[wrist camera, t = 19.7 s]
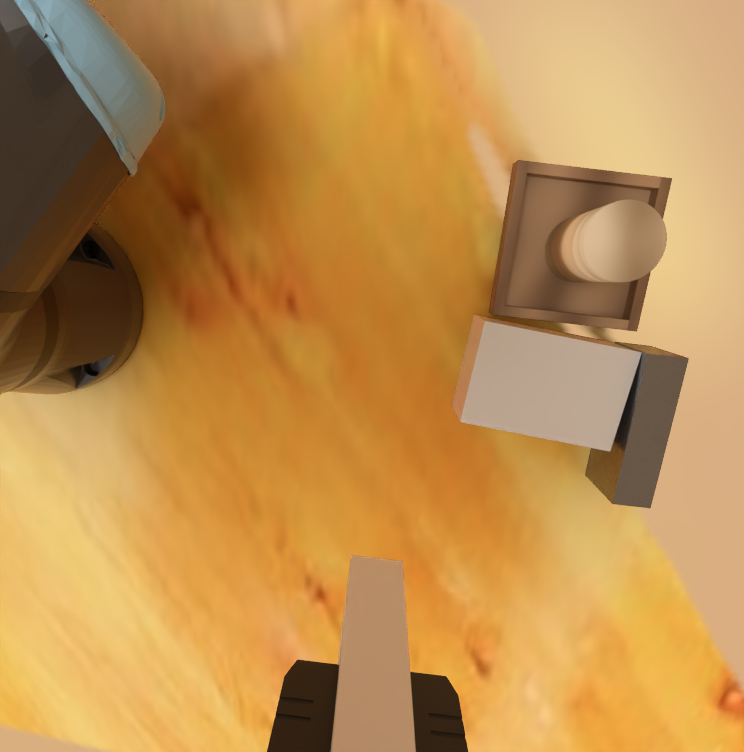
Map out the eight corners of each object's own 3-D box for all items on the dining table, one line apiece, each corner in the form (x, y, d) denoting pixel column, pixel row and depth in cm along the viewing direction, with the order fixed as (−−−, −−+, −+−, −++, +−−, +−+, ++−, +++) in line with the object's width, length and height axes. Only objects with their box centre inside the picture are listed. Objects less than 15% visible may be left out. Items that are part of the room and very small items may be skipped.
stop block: (585, 475, 45) (612, 503, 40) (614, 341, 43) (648, 353, 37) (618, 478, 45) (650, 508, 40) (650, 346, 43) (688, 358, 37)
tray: (488, 312, 43) (492, 314, 41) (513, 164, 40) (518, 160, 38) (627, 328, 43) (636, 331, 41) (660, 181, 40) (672, 178, 38)
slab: (451, 404, 45) (459, 422, 40) (473, 314, 43) (485, 320, 38) (585, 430, 45) (610, 451, 40) (612, 342, 43) (641, 352, 38)
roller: (547, 285, 41) (586, 287, 33) (542, 222, 41) (581, 206, 32) (610, 276, 41) (668, 276, 32) (607, 212, 40) (665, 193, 31)
